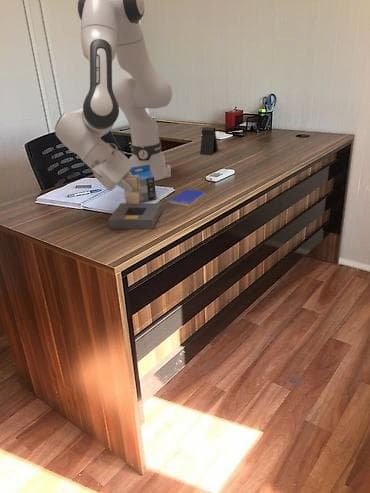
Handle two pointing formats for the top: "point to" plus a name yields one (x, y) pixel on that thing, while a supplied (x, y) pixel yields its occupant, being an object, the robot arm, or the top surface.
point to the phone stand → (208, 141)
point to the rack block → (135, 216)
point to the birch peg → (135, 194)
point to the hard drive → (187, 197)
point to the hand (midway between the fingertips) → (134, 187)
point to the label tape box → (145, 182)
